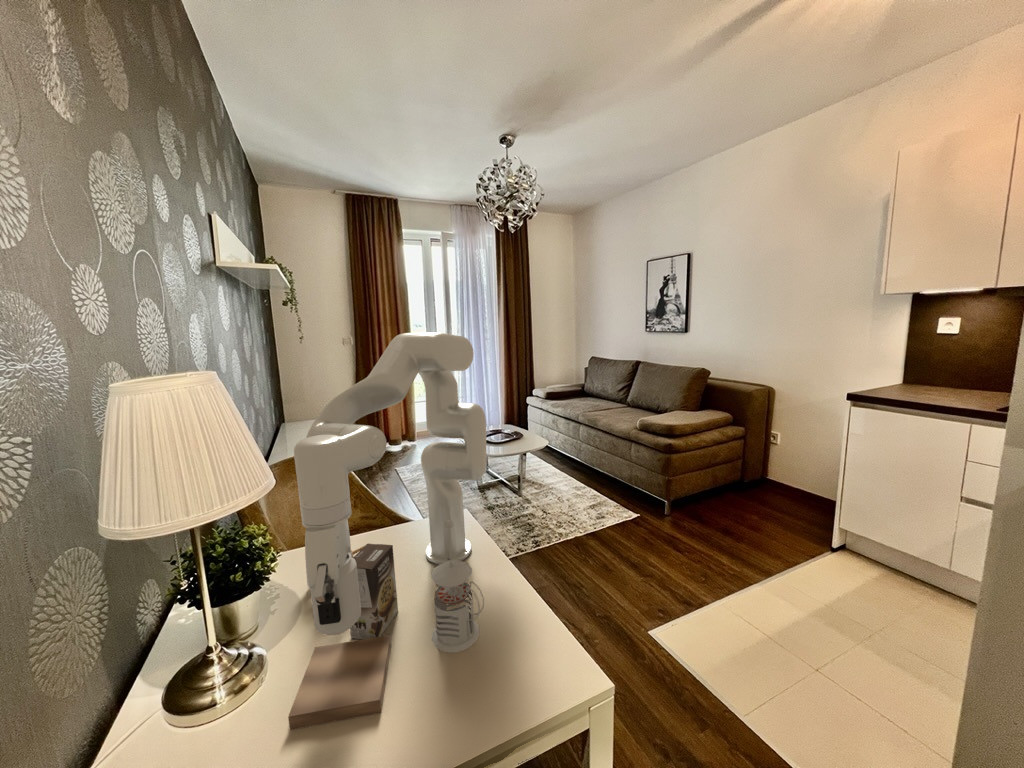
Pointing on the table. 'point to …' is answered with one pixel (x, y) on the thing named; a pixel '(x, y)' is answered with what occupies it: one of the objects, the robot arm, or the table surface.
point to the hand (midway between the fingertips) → (336, 604)
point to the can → (342, 600)
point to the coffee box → (375, 590)
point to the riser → (342, 682)
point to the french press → (456, 623)
